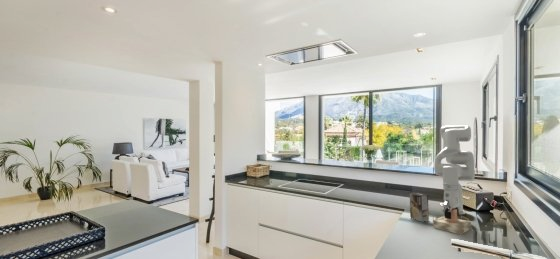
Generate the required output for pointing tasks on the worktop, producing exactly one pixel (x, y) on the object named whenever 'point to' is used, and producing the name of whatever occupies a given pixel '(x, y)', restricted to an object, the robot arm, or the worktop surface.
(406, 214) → the worktop surface
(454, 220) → the peg
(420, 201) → the coffee box
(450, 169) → the robot arm
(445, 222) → the socket
